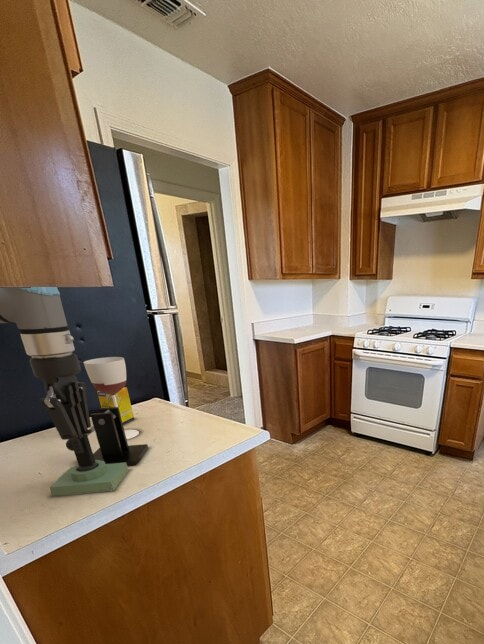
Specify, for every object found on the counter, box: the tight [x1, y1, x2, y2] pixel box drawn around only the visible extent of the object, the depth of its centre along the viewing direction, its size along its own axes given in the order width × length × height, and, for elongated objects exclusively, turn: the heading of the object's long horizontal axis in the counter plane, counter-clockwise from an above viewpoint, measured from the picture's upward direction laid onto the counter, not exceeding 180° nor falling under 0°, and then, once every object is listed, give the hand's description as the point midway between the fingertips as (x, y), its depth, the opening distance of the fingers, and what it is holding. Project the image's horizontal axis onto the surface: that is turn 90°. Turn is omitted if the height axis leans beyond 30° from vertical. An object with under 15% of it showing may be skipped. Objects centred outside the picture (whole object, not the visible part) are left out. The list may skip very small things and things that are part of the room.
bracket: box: [90, 407, 149, 467], centre depth 87 cm, size 12×10×13 cm
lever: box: [65, 409, 116, 452], centre depth 86 cm, size 14×3×3 cm
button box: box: [49, 460, 129, 497], centre depth 78 cm, size 12×9×4 cm
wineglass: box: [83, 356, 140, 440], centre depth 99 cm, size 9×10×22 cm
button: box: [77, 462, 98, 472], centre depth 77 cm, size 4×4×2 cm
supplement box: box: [96, 386, 135, 426], centre depth 112 cm, size 6×6×11 cm
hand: (87, 463), depth 77 cm, fingers closed
